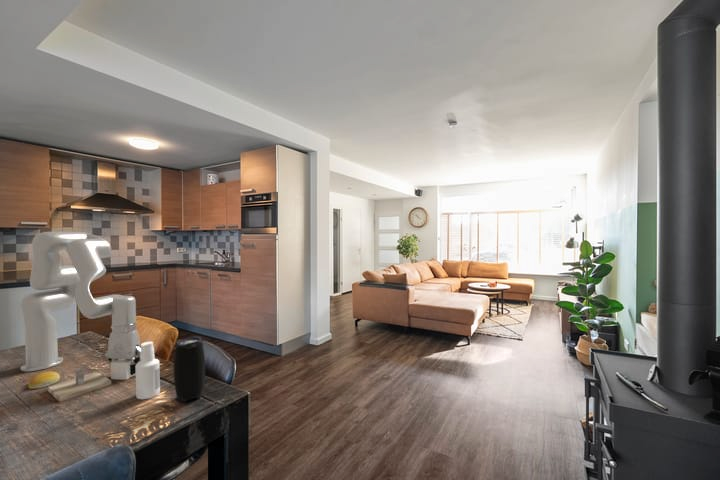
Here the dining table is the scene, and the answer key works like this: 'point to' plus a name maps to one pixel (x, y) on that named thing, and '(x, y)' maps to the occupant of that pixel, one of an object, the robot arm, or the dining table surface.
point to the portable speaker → (189, 369)
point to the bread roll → (43, 379)
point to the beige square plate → (78, 385)
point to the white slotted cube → (121, 369)
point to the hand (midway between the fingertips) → (125, 372)
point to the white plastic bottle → (147, 373)
